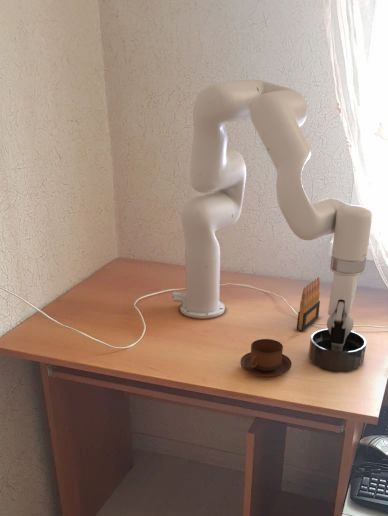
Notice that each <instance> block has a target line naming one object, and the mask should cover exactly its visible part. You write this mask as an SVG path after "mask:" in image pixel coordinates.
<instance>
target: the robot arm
mask: <svg viewBox="0 0 388 516" xmlns="http://www.w3.org/2000/svg"><path fill="white" fill-rule="evenodd" d="M192 109H193V110H192V123H193V137H192V144H191V145H192V147H191V157H190V169H189V181H190V184H191V187H192V189H194V190H195V192H197V193H202V194H203V195H199V196H195V197H193V198H191V199H189V200H188V201H187V202H185V204H184V205H183V206H182V208H181V212H180V222H181V226H182V227H181V228H182V231H183V238H184V239H183V240H184V259H185V261H184V262H185V267H184V268H185V269H184V270H185V291H184V292H177V291H173V292H172V293H171V294H172V295H171V298H172V301H173V302H176V303H181V304H180V305H179V306H180V307H179V310H180V312H181V314H183V315H184V316H185V317H189V318H192V319H202V320H203V319H212V318H217V317H219V316H221V315H222V314H224V313H225V309H226V307H225V304H224V303H223V302H222V301H220V294H221V293H220V288H221V287H220V285H221V284H220V283H221V247H220V243H219V241H218V239H217V236H216V232H217V231H219V230H222V229H226V228H228V227H231V226H233V225H234V224H235V223H237V222H238V220H239V219H240V216H241V214H242V209H243V202H244V196H245V188H246V182H247V165H246V162H245V159H244V157H243V154H241V153H240V152H239V151H238V150H236V149H234V148H228V142H229V141H228V140H229V139H228V138H229V136H228V131H227V126H226V124H225V123H234V122H241V121H246V120H251V122H252V125H253V127H254V129H255V131H256V132H257V135H258V136H259V138H260V140H261V143H262V144H263V146H264V148H265V150H266V152H267V154H268V155H269V158H270V159H271V162H272V164H273V165H274V167H275V170H276V183H275V184H276V185H275V187H276V199H277V204H278V207H279V210H280V211H281V214H282V216H283V217H284V219H285V221H286V223H287V225H288V227H289V228H290V230H291V231H292V233H293V234H294V235H295V236H296V237H297V238H299V239H301V240H302V241H313V240H316V239H318V238H322V237H324V236H328V235H332V234H334V235H333V240H332V249H331V259H330V260H331V261H330V267H329V270H330V271H331V272H332V273H333V277H332V281H331V289H330V295H329V303H328V309H327V314H328V316H330V315H333V313H334V318H333V324H332V327H331V334H330V342H331V343H337V344H343V343H344V337H345V330H346V328H345V322H346V317H348V316H349V315H351V311H352V308H353V305H354V301H355V297H356V292H357V286H358V279H359V276H360V275H363V274H364V273H365V271H366V263H367V255H368V251H369V250H368V248H369V242H370V236H371V228H372V222H373V212H372V210H371V209H370V208H368V207H367V206H362V205H355V204H350V203H347V202H345V201H342V200H341V199H338V198H335V197H328V198H327V197H326V198H324V199H320V200H317V201H314V202H311V201H310V198H309V197H308V195H307V194H306V191H305V189H304V185H303V180H302V179H303V178H302V175H303V170H304V167H305V165H306V163H307V162H308V161H309V159H310V158H311V156H312V149H311V146H310V145H309V142H308V141H307V139H306V137H305V135H304V133H303V131H302V129H301V127H302V126H303V125H304V123H305V122H306V120H307V117H308V112H309V111H308V104H307V101H306V99H305V98H304V96H303V95H302V94H301V93H300V92H299V91H298V90H296V89H293V88H291V87H287V86H284V85H279V84H275V83H271V82H269V81H265V80H262V79H243V80H231V81H230V80H229V81H228V80H227V81H221V82H217V83H216V82H215V83H213V84H210V85H208V86H206V87H204V88H202V90H200V91H199V92H198V93H197V95H196V97H195V100H194V102H193V108H192ZM336 312H337V314H336ZM342 313H345V315H342ZM342 318H343V321H342Z"/></svg>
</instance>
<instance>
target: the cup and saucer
mask: <svg viewBox="0 0 388 516" xmlns="http://www.w3.org/2000/svg"><path fill="white" fill-rule="evenodd" d="M283 350H284V345H283V344H282V343H281V342H280V341H278V340H275V339H270V338H260V339H256V340H254V341H252V343H251V345H250V352H247V353H246V354H244V355H243V356H242V357H241V358H240V361H239V362H240V365H241V367H242V369H243V370H244V371H246V372H247V373H249V375H250V374H251V375H253V376H256V377H261V378H273V377H278V376H282V375H284V374H286V373H287V372H289V371H290V369H291V368H292V360H291V358H290V357H288V355H286V354H284V353H283Z"/></svg>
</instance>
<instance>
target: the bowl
mask: <svg viewBox="0 0 388 516" xmlns="http://www.w3.org/2000/svg"><path fill="white" fill-rule="evenodd" d="M331 348H332V344H331V342H330V333H329V331H328V328H323V329H318V330H316V331H314V332H313V333H312V334H311V335H310V339H309V348H308V358H309V360H310V361H311V362H312V364H313V365H315V367H317V368H319V369H321V370H324V371H328V372H332V373H333V372H334V373H346V372H352V371H354V370H355V371H356V370H357V369H358V368H359V367H361V366H362V365H363V364H364V360H365V355H366V350H367V349H366V348H367V340H366V338H365V337H364V336H363V335H362V334H359V333H357V332H356V331H353V330H351V332H350V333H349V334H348V336H347V337H346V339H345V343H344V345H343V349H342V352H339V351H332V350H331Z"/></svg>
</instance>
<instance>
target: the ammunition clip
mask: <svg viewBox="0 0 388 516" xmlns="http://www.w3.org/2000/svg"><path fill="white" fill-rule="evenodd" d="M320 287H321V279H320V276H317V277H316V278H315V279H314V280H312V281H311V282H309V283H308V284H307V285H306V286H304V288H303V290H302V294H301V298H300V302H299V303H300V304H299V311H298V313H297V323H296V331H299V332H304V331H306V329H308V328H309V327H310V326H311V325H312V324H313V323H315V322H316V321H317V320H319V315H320V307H321V306H320V305H321V301H320V296H321V295H320V294H321V289H320Z"/></svg>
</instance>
